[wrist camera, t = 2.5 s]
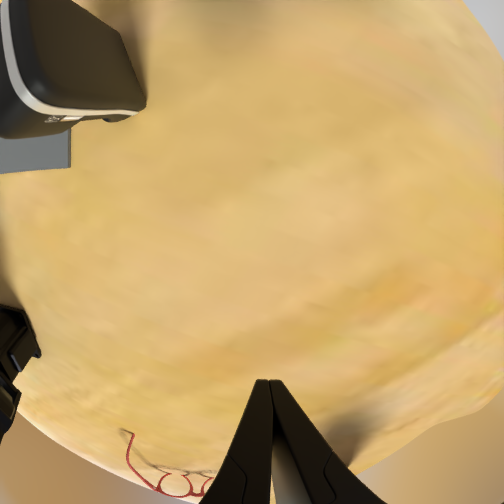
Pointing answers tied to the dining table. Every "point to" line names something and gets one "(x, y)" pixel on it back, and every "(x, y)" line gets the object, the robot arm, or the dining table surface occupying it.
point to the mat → (35, 153)
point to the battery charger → (61, 69)
